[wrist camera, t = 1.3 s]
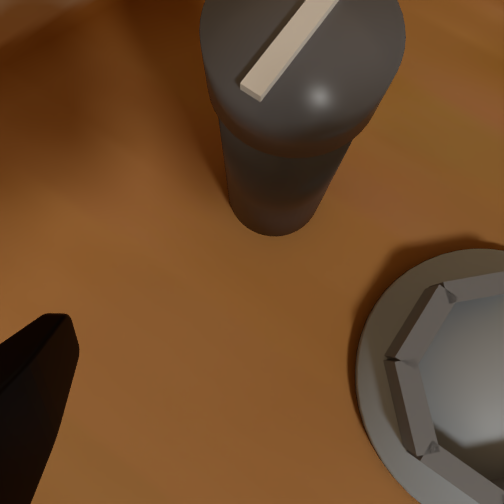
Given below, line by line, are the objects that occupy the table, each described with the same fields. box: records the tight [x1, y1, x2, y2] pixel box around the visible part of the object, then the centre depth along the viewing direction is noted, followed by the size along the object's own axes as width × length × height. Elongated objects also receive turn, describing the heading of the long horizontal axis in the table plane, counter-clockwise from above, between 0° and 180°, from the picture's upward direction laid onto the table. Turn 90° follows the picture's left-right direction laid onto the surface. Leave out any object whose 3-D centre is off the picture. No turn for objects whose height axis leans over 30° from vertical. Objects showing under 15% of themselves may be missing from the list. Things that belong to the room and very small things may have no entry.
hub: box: [355, 249, 504, 504], centre depth 19 cm, size 13×13×2 cm
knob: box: [199, 0, 406, 236], centre depth 16 cm, size 5×5×12 cm
